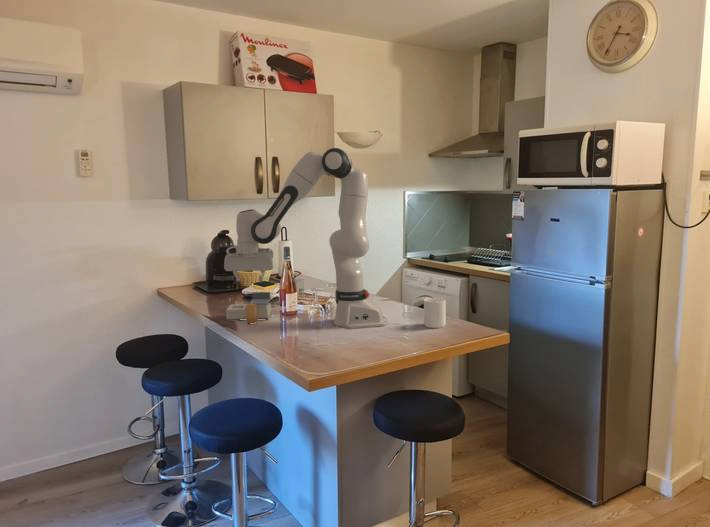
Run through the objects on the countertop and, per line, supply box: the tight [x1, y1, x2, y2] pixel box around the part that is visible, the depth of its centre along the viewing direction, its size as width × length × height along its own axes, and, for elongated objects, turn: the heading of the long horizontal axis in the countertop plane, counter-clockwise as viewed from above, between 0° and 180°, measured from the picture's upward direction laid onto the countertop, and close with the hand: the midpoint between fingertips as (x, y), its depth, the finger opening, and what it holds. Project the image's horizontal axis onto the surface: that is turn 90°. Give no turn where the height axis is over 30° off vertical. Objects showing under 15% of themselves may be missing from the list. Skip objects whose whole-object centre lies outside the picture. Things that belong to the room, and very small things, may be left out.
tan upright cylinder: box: [246, 303, 258, 324], centre depth 230 cm, size 4×4×8 cm
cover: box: [248, 291, 271, 305], centre depth 246 cm, size 8×10×4 cm
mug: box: [423, 297, 447, 329], centre depth 219 cm, size 9×12×11 cm
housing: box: [225, 302, 272, 321], centre depth 240 cm, size 18×11×6 cm, turn 91°
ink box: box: [294, 278, 305, 294], centre depth 267 cm, size 9×9×12 cm
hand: (249, 281), depth 228 cm, fingers open, 8 cm apart
